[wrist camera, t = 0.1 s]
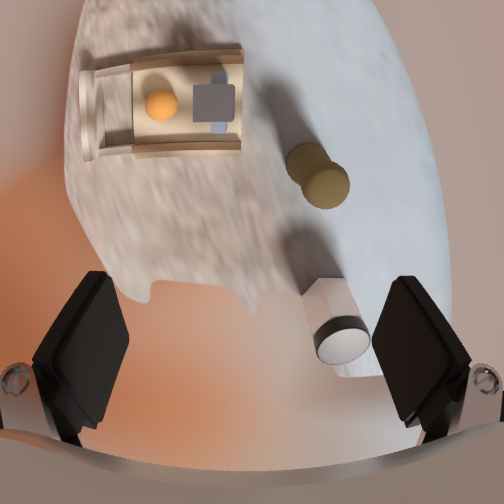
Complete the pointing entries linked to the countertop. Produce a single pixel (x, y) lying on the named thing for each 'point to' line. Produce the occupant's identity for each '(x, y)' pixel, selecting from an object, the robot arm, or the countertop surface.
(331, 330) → the jar
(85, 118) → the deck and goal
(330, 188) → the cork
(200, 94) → the grey stepped block
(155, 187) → the countertop surface
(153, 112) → the ball
